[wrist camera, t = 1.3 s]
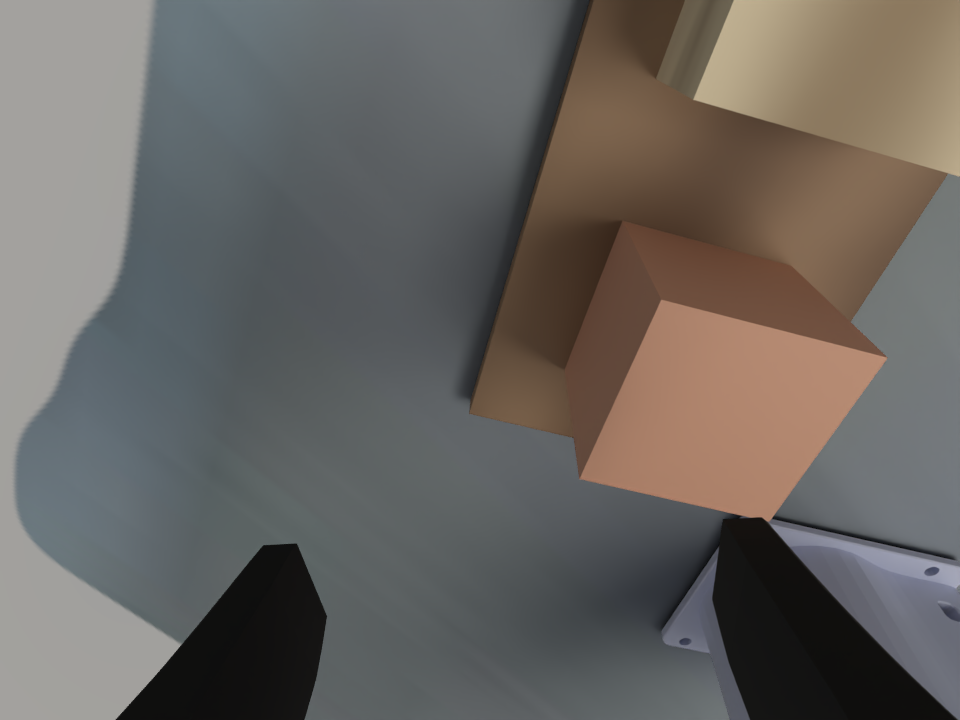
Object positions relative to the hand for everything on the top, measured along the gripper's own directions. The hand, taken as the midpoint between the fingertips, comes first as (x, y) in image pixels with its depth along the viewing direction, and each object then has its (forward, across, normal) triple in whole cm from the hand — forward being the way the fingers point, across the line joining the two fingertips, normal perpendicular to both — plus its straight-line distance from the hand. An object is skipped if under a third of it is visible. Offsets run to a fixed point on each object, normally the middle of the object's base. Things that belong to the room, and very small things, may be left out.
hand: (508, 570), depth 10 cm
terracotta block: (+9, -5, 0) cm, 10 cm away
